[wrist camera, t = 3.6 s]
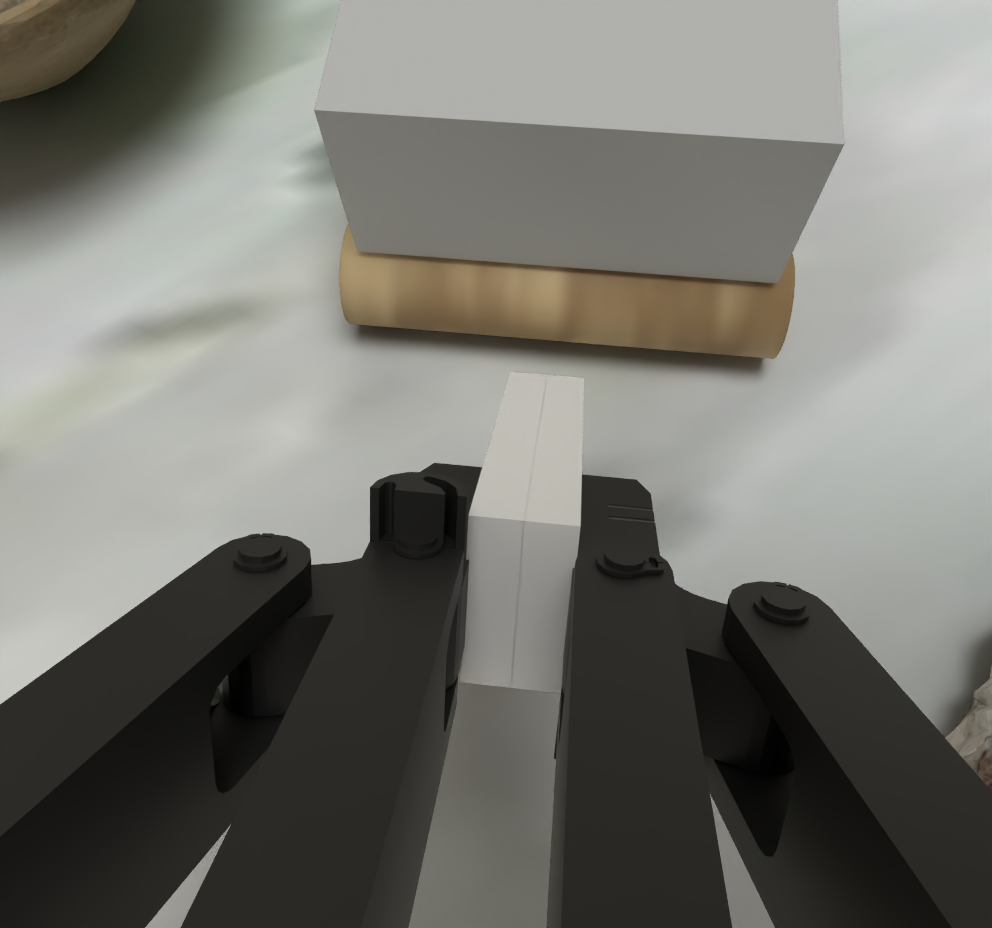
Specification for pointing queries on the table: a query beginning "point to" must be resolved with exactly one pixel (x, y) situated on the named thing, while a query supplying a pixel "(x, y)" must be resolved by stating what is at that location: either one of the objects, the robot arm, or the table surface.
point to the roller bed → (566, 303)
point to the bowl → (52, 40)
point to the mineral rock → (976, 734)
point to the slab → (585, 130)
